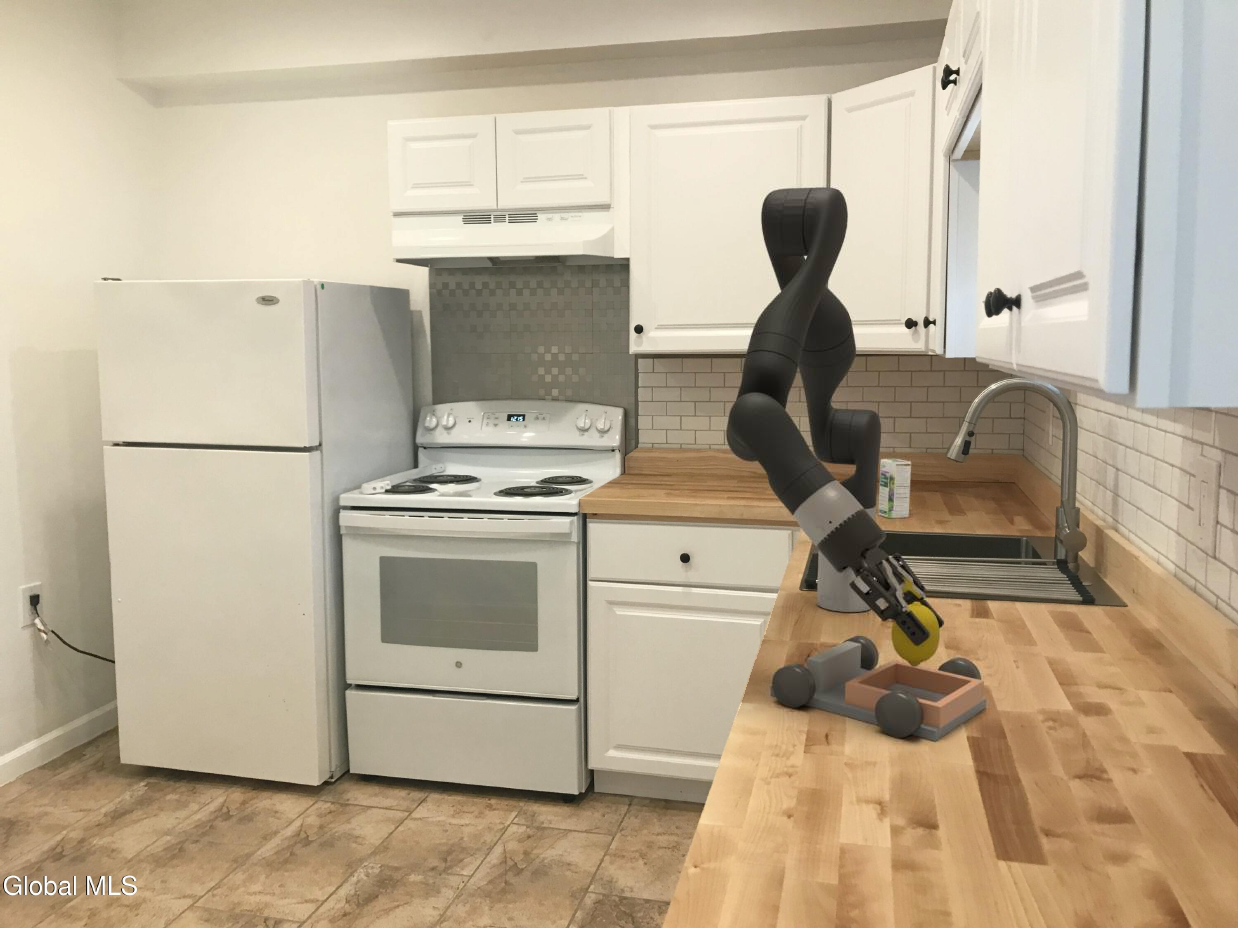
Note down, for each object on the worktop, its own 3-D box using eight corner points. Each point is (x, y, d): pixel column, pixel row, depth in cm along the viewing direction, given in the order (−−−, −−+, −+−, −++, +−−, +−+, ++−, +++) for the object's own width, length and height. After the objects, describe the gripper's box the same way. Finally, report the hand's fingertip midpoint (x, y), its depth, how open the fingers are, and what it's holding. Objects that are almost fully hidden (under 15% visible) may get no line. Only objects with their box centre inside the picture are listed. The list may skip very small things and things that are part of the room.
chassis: (835, 665, 140) (836, 628, 140) (992, 703, 126) (994, 662, 125) (761, 699, 127) (762, 659, 127) (927, 746, 113) (929, 701, 112)
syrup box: (877, 515, 260) (879, 458, 259) (897, 513, 262) (899, 458, 260) (889, 518, 255) (891, 461, 253) (910, 517, 257) (912, 460, 255)
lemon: (906, 675, 119) (909, 609, 118) (881, 661, 124) (884, 597, 123) (947, 671, 121) (950, 606, 120) (921, 657, 126) (924, 594, 125)
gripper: (839, 514, 118) (939, 631, 113) (878, 499, 130) (970, 603, 125) (795, 554, 122) (890, 668, 117) (837, 535, 134) (924, 638, 129)
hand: (931, 634), depth 121 cm, fingers closed on lemon, 5 cm apart
